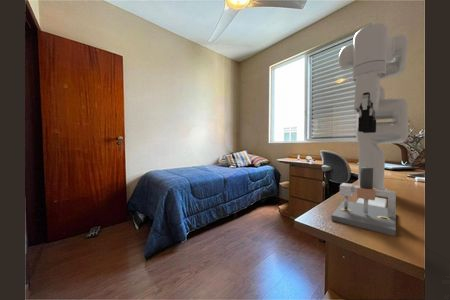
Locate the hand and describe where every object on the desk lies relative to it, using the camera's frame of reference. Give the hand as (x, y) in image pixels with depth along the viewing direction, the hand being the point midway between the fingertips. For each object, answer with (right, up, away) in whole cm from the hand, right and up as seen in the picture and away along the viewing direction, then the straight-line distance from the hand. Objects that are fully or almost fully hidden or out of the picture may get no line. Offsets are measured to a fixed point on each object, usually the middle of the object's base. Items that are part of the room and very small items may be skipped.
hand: (367, 132), depth 53 cm
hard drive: (+13, -26, +15) cm, 33 cm away
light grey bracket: (+1, -25, +2) cm, 25 cm away
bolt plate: (+1, -26, +3) cm, 26 cm away
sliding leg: (0, -24, +1) cm, 24 cm away
